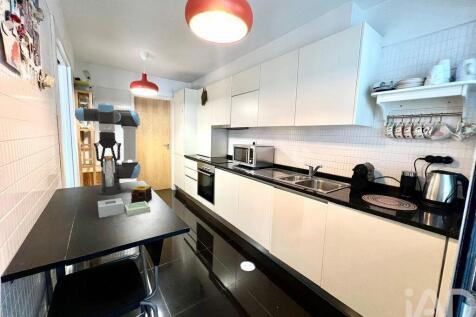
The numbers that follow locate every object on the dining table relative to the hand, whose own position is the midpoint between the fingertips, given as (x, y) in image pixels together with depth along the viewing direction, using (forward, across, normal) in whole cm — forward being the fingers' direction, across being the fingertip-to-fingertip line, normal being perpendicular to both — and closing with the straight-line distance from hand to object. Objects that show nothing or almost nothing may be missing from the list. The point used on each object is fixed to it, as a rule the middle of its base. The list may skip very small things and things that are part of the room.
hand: (109, 172), depth 116 cm
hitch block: (+24, 0, 0) cm, 24 cm away
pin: (+8, 0, 0) cm, 8 cm away
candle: (+24, +19, +11) cm, 32 cm away
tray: (+24, +13, -6) cm, 28 cm away
